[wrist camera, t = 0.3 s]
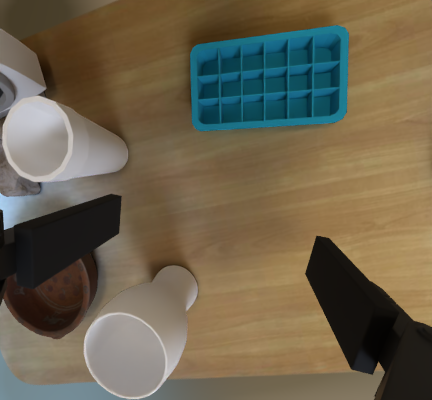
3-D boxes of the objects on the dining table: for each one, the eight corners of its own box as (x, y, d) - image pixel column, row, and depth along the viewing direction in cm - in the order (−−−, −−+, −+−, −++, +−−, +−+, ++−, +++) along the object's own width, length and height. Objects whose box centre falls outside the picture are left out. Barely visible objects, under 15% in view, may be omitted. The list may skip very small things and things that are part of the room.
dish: (28, 321, 44) (-1, 339, 39) (24, 210, 42) (-6, 214, 37) (108, 336, 41) (88, 358, 36) (108, 217, 39) (87, 222, 34)
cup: (208, 318, 37) (178, 410, 22) (149, 316, 39) (84, 399, 24) (203, 256, 36) (168, 307, 21) (143, 257, 38) (72, 305, 23)
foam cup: (103, 191, 38) (27, 196, 26) (77, 145, 38) (-12, 127, 26) (147, 162, 36) (88, 152, 24) (119, 114, 37) (46, 78, 24)
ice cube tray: (195, 57, 34) (189, 45, 31) (340, 39, 30) (349, 23, 27) (197, 135, 35) (192, 131, 32) (337, 127, 31) (346, 121, 28)
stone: (48, 136, 39) (13, 128, 34) (59, 191, 40) (27, 193, 34) (11, 144, 41) (-29, 138, 35) (23, 197, 41) (-15, 200, 36)
